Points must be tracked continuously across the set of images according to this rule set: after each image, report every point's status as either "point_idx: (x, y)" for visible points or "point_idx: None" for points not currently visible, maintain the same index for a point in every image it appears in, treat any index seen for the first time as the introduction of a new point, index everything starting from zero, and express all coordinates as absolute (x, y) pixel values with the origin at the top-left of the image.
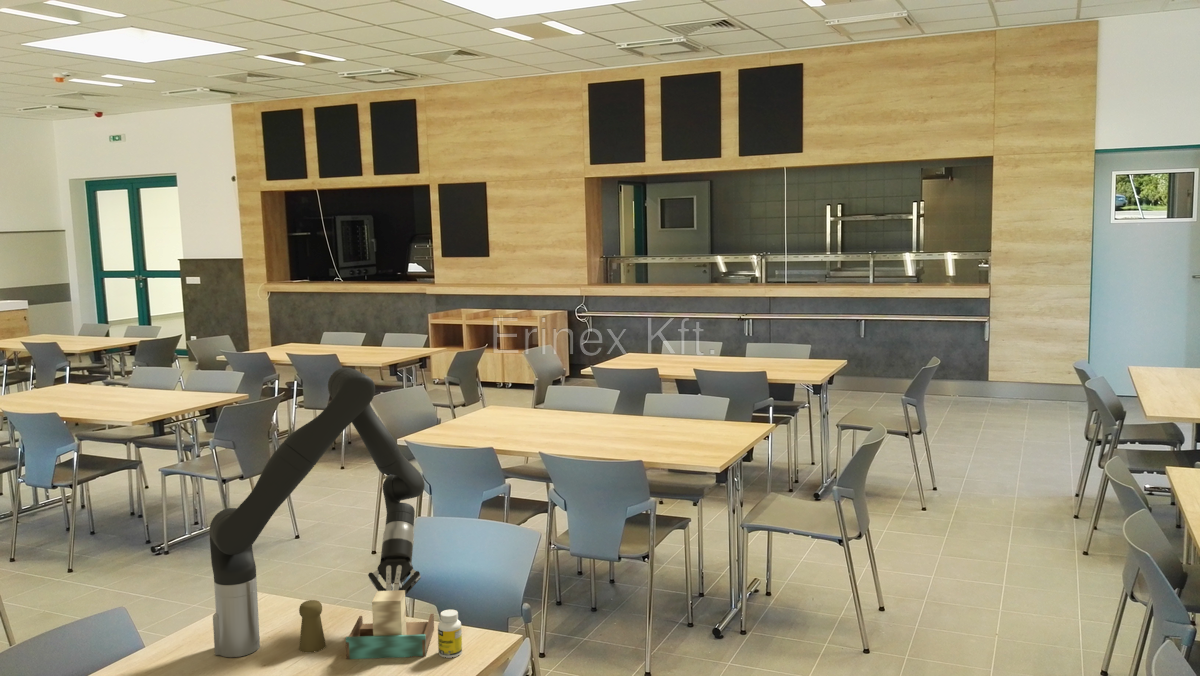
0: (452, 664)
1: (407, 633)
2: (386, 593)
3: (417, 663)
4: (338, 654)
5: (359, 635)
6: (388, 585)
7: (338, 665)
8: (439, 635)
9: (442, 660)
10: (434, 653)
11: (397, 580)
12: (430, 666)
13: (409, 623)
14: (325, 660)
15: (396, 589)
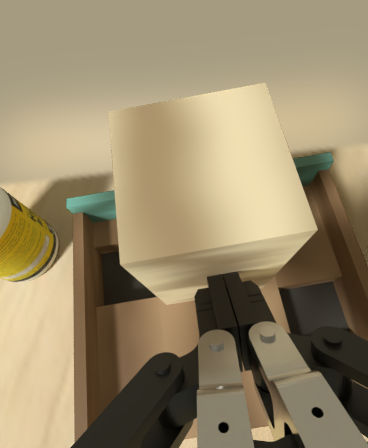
0: (20, 192)
1: (167, 319)
2: (230, 195)
3: (108, 187)
4: (348, 213)
5: (353, 332)
6: (290, 372)
7: (309, 155)
8: (18, 202)
9: (46, 209)
10: (72, 246)
11: (218, 404)
12: (73, 177)
13: None
14: (363, 176)
15: (213, 352)
